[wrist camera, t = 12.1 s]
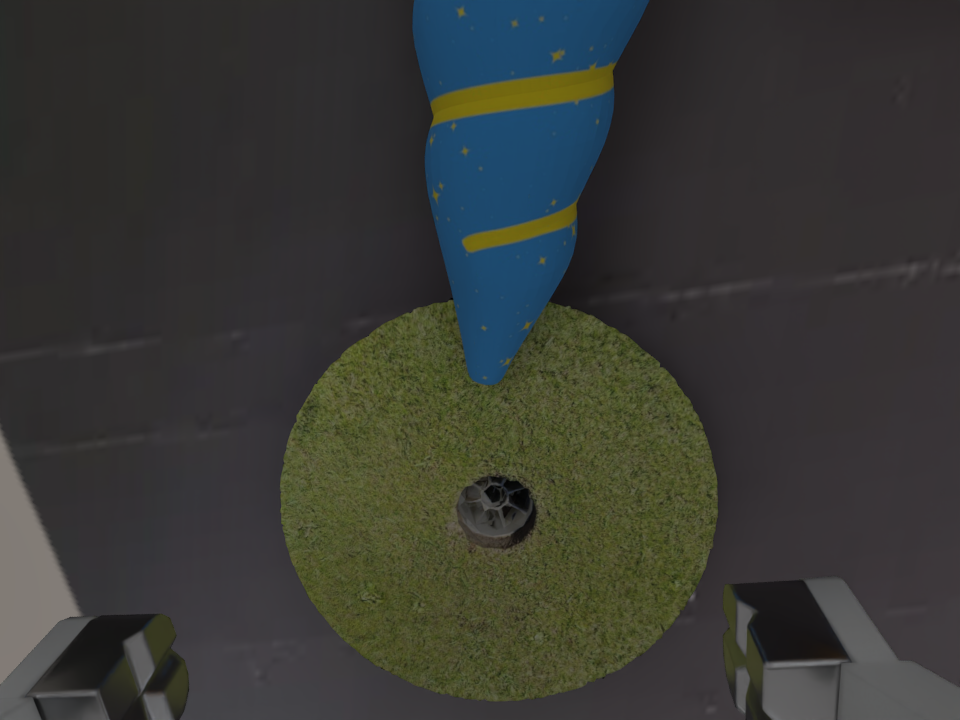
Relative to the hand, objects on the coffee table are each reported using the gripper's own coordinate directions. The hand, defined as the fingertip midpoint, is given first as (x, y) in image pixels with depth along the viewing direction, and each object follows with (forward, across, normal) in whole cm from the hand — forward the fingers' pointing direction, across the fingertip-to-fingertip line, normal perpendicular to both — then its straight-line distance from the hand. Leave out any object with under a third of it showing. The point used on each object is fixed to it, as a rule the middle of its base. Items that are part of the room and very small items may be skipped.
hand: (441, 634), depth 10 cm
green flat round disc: (+9, 0, +3) cm, 10 cm away
